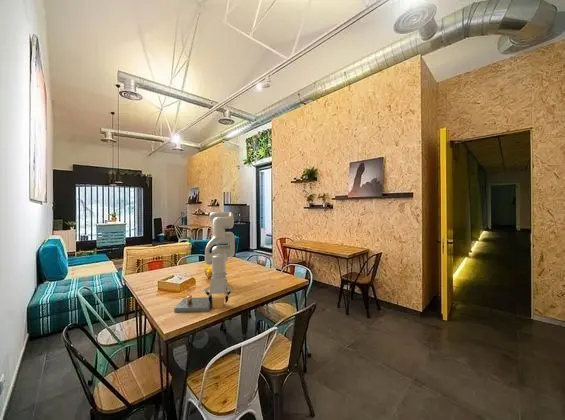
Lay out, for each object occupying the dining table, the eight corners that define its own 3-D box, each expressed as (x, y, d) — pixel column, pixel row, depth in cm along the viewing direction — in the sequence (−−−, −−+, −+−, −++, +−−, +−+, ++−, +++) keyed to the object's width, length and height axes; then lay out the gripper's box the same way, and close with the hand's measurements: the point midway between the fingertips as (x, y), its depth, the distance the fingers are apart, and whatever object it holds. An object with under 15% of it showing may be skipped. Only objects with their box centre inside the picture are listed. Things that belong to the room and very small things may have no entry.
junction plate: (184, 301, 157) (184, 291, 156) (215, 301, 158) (215, 291, 157) (174, 312, 141) (174, 301, 140) (208, 311, 142) (208, 300, 141)
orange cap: (214, 304, 153) (214, 296, 153) (224, 303, 153) (224, 296, 153) (212, 308, 147) (212, 299, 147) (222, 307, 147) (222, 299, 147)
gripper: (233, 272, 153) (233, 299, 153) (206, 273, 153) (206, 300, 153) (231, 276, 146) (231, 304, 146) (202, 276, 145) (202, 304, 145)
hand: (218, 302), depth 149 cm, fingers open, 9 cm apart
